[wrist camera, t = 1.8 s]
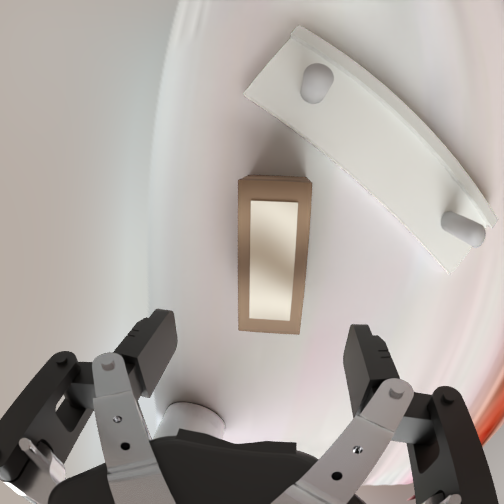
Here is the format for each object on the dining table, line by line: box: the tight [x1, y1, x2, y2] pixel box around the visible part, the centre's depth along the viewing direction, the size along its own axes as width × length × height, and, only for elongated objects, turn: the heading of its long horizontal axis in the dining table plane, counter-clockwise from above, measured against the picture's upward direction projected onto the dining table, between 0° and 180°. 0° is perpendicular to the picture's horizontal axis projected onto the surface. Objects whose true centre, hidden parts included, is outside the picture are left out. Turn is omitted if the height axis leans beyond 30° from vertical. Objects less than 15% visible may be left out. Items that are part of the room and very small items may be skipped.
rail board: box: [243, 25, 498, 275], centre depth 19 cm, size 8×26×6 cm, turn 54°
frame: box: [238, 175, 312, 334], centre depth 23 cm, size 12×5×6 cm, turn 179°
